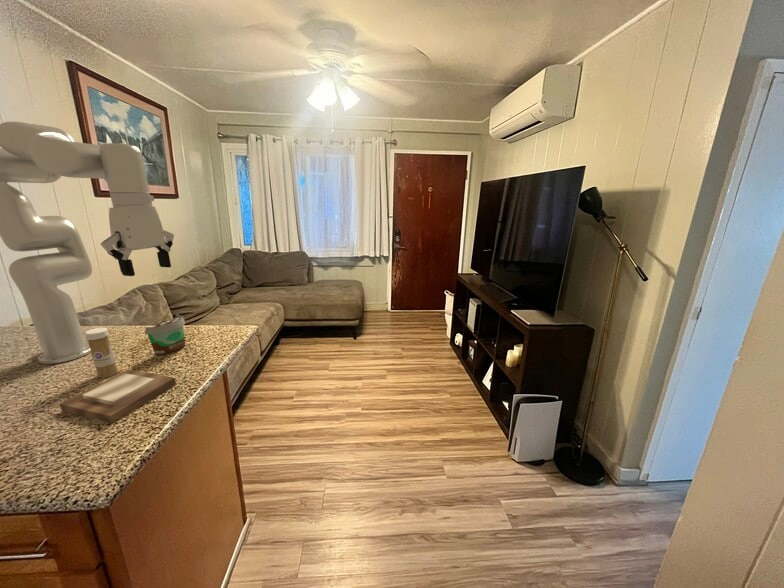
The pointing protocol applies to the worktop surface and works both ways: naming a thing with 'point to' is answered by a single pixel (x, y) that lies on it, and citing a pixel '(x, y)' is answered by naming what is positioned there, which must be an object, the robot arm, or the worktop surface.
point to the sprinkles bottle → (101, 352)
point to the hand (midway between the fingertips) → (148, 271)
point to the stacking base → (118, 395)
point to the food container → (167, 336)
